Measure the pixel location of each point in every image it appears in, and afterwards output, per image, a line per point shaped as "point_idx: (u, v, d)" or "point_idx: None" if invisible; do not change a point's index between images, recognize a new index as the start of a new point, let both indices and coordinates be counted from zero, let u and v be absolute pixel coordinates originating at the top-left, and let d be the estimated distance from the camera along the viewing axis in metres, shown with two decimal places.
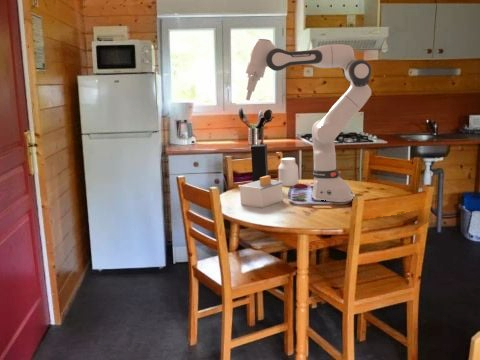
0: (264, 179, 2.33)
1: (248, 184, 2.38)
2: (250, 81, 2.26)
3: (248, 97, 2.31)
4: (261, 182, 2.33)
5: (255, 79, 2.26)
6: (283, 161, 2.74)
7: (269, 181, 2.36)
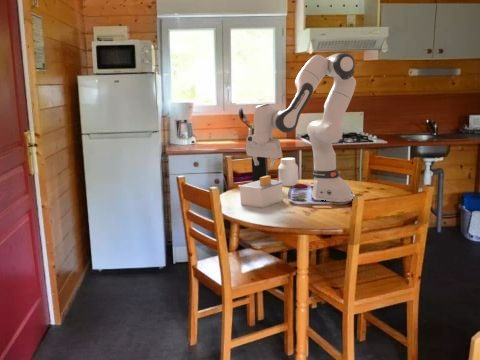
0: (264, 179, 2.33)
1: (248, 184, 2.38)
2: (277, 149, 2.25)
3: (272, 164, 2.30)
4: (261, 182, 2.33)
5: None
6: (283, 161, 2.74)
7: (269, 181, 2.36)
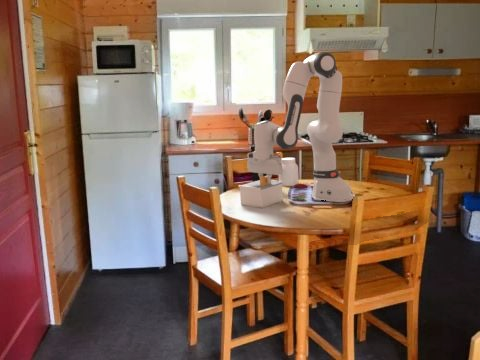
0: (264, 179, 2.33)
1: (248, 184, 2.38)
2: (278, 166, 2.26)
3: (269, 180, 2.34)
4: (261, 182, 2.33)
5: (280, 162, 2.28)
6: (283, 161, 2.74)
7: None
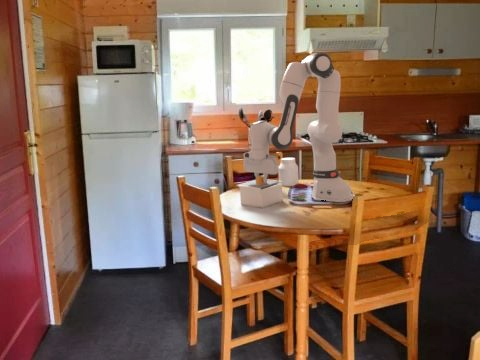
0: (260, 178, 2.35)
1: (244, 183, 2.40)
2: (274, 165, 2.28)
3: (265, 179, 2.35)
4: (257, 181, 2.35)
5: (276, 161, 2.29)
6: (283, 161, 2.74)
7: None
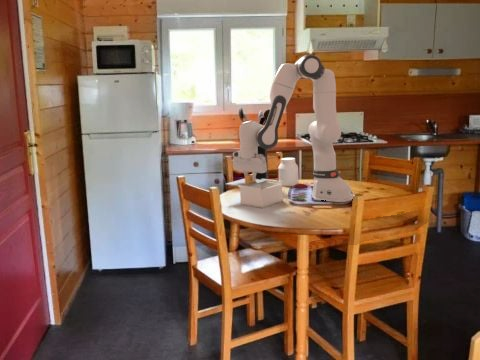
0: (249, 177, 2.40)
1: (234, 182, 2.45)
2: (262, 164, 2.33)
3: (253, 178, 2.40)
4: (246, 180, 2.40)
5: (264, 160, 2.34)
6: (283, 161, 2.74)
7: None
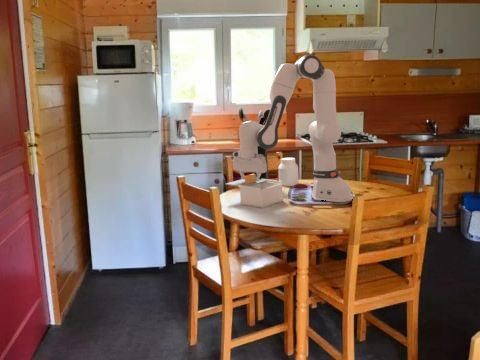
0: (249, 177, 2.40)
1: (234, 182, 2.45)
2: (262, 164, 2.33)
3: (258, 178, 2.38)
4: (246, 180, 2.40)
5: (264, 160, 2.34)
6: (283, 161, 2.74)
7: (254, 179, 2.43)
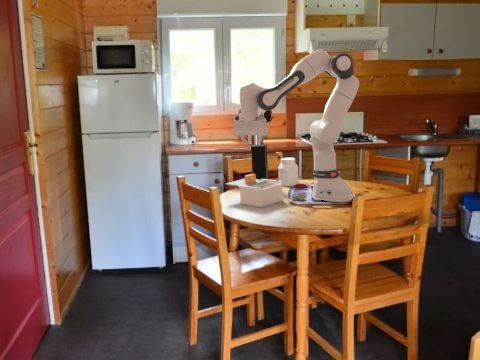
0: (249, 177, 2.40)
1: (234, 182, 2.45)
2: (264, 126, 2.33)
3: (259, 141, 2.38)
4: (246, 180, 2.40)
5: None
6: (283, 161, 2.74)
7: (254, 179, 2.43)
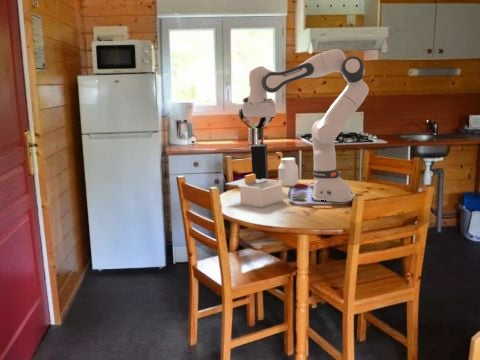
0: (249, 177, 2.40)
1: (234, 182, 2.45)
2: (272, 108, 2.42)
3: (267, 123, 2.47)
4: (246, 180, 2.40)
5: None
6: (283, 161, 2.74)
7: (254, 179, 2.43)
